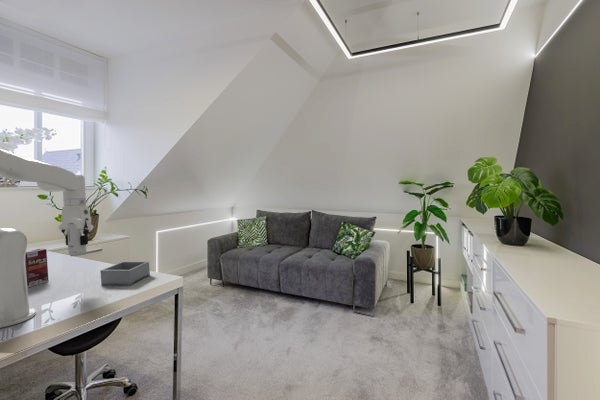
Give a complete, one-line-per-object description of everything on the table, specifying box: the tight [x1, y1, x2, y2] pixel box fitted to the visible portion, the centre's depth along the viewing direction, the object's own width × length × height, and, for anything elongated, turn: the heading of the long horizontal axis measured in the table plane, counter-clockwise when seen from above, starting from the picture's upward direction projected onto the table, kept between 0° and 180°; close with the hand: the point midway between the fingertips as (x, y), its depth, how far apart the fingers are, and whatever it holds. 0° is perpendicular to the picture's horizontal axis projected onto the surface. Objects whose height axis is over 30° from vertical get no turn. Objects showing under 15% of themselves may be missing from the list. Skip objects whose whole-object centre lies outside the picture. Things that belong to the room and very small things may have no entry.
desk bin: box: [100, 261, 151, 287], centre depth 132 cm, size 14×14×7 cm
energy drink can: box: [67, 223, 87, 257], centre depth 120 cm, size 6×6×15 cm
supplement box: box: [25, 248, 49, 288], centre depth 130 cm, size 9×5×16 cm, turn 168°
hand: (77, 244), depth 120 cm, fingers closed on energy drink can, 6 cm apart
